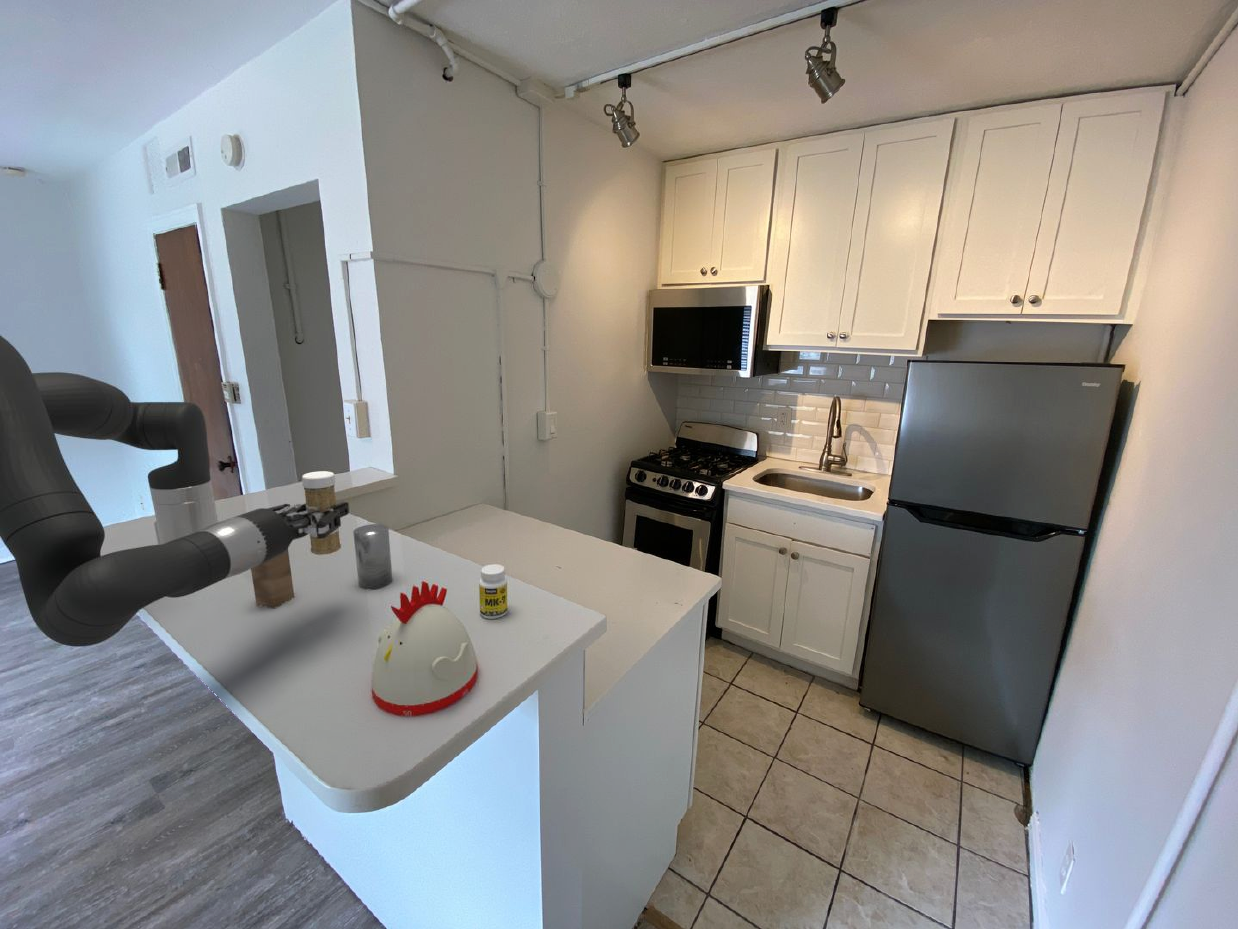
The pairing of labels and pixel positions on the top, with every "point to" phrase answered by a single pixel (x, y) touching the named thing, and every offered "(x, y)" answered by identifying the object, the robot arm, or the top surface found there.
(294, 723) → the top surface
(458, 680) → the kitchen timer
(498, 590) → the supplement bottle
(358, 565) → the grey metal tin
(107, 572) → the robot arm
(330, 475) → the sprinkles bottle
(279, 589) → the walnut block
